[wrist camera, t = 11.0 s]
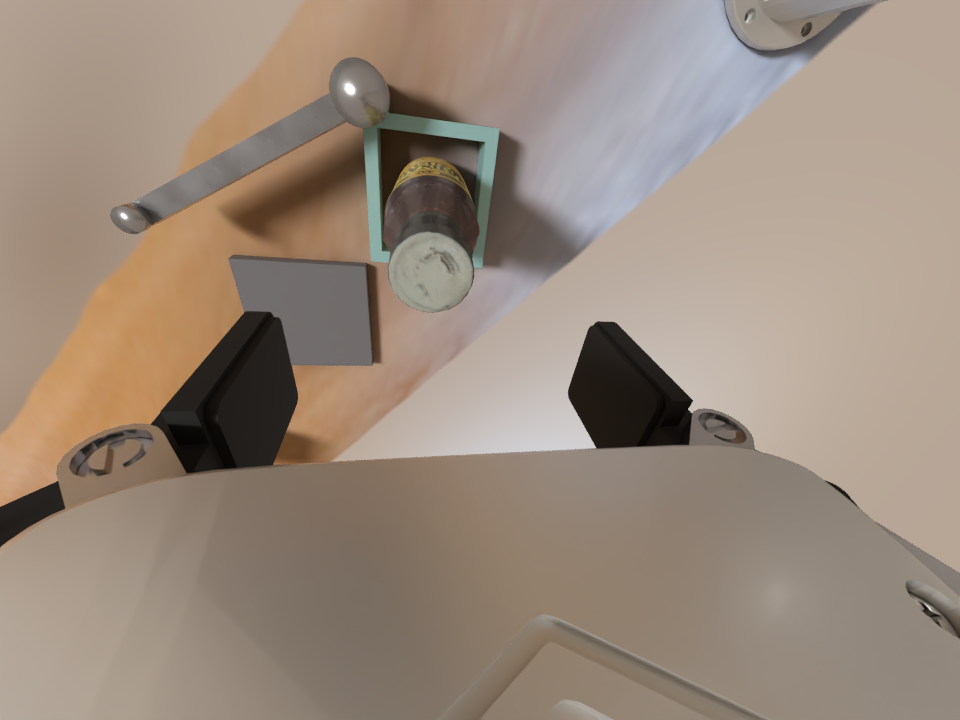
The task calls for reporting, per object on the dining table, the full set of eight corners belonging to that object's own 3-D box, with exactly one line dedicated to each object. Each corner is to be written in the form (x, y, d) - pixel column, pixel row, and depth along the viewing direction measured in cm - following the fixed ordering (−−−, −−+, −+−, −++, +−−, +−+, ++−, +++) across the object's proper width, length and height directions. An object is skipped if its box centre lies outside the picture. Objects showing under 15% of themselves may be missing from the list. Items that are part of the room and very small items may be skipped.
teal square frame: (496, 95, 29) (505, 93, 26) (477, 257, 36) (483, 270, 33) (349, 71, 26) (341, 67, 24) (362, 250, 34) (357, 262, 31)
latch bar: (399, 112, 25) (398, 113, 23) (165, 237, 27) (141, 249, 25) (371, 51, 23) (366, 44, 21) (120, 192, 25) (89, 200, 23)
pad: (366, 263, 35) (365, 266, 34) (373, 360, 42) (372, 365, 41) (233, 255, 33) (228, 258, 32) (263, 359, 39) (259, 364, 39)
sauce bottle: (461, 151, 31) (512, 194, 15) (467, 225, 34) (511, 323, 18) (386, 157, 30) (352, 207, 14) (399, 231, 34) (385, 339, 18)
